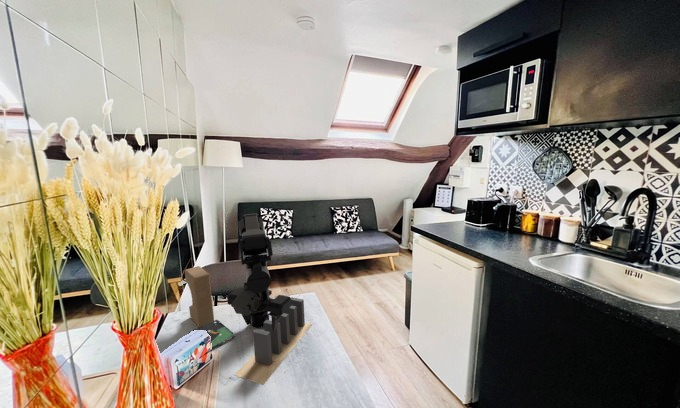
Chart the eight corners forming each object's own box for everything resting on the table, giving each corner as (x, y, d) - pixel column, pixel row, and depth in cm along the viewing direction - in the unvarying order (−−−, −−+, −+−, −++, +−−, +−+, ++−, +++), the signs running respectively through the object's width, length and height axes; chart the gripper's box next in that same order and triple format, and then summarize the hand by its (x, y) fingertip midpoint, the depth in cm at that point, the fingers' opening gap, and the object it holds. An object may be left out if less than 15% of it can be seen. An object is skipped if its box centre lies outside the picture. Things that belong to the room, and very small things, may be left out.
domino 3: (287, 344, 91) (285, 316, 89) (274, 341, 93) (272, 314, 91) (290, 341, 92) (288, 314, 91) (277, 338, 94) (275, 311, 93)
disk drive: (188, 339, 98) (206, 358, 88) (187, 332, 98) (205, 350, 88) (217, 325, 106) (237, 341, 96) (216, 318, 105) (236, 334, 95)
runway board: (234, 378, 79) (234, 374, 79) (289, 322, 106) (288, 319, 105) (263, 388, 75) (263, 384, 75) (312, 327, 102) (312, 324, 102)
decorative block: (190, 317, 111) (184, 269, 107) (205, 311, 114) (199, 265, 111) (198, 329, 103) (192, 278, 99) (214, 322, 106) (209, 273, 103)
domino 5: (302, 327, 100) (301, 301, 98) (290, 324, 102) (289, 299, 100) (304, 324, 102) (303, 299, 100) (292, 322, 103) (291, 297, 102)
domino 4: (295, 335, 96) (294, 308, 94) (283, 332, 97) (281, 306, 96) (297, 333, 97) (296, 306, 95) (285, 330, 99) (283, 304, 97)
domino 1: (269, 366, 82) (267, 335, 80) (255, 362, 84) (252, 331, 82) (272, 362, 83) (270, 332, 82) (258, 358, 85) (256, 328, 83)
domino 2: (279, 355, 86) (277, 325, 85) (265, 351, 88) (263, 322, 87) (281, 351, 88) (280, 322, 86) (268, 348, 90) (266, 319, 88)
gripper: (209, 284, 75) (215, 337, 77) (267, 295, 68) (271, 352, 71) (238, 268, 85) (242, 315, 88) (291, 277, 78) (294, 327, 81)
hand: (261, 327), depth 81 cm, fingers open, 9 cm apart
